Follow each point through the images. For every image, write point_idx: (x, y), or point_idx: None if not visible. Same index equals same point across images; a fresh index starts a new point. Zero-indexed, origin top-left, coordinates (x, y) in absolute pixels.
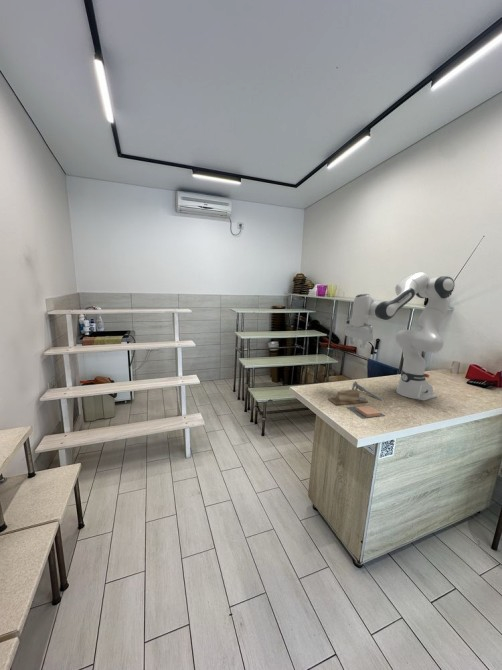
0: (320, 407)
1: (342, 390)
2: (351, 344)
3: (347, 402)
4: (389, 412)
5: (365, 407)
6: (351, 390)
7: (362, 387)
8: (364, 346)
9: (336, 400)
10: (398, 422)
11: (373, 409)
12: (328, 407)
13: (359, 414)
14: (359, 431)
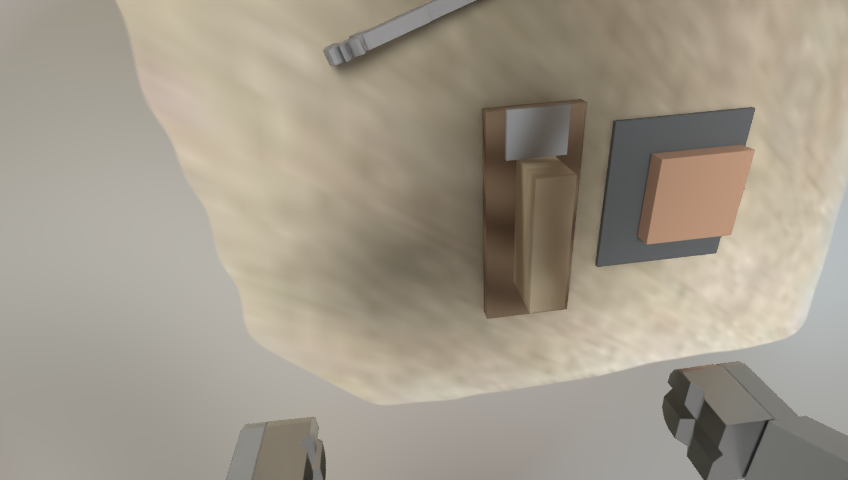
0: (550, 368)
1: (531, 284)
2: (323, 454)
3: None
4: (728, 37)
5: (672, 196)
6: (545, 226)
7: (422, 24)
8: (765, 389)
9: None
10: (824, 79)
11: (709, 165)
12: (560, 338)
13: (679, 241)
14: (772, 309)
